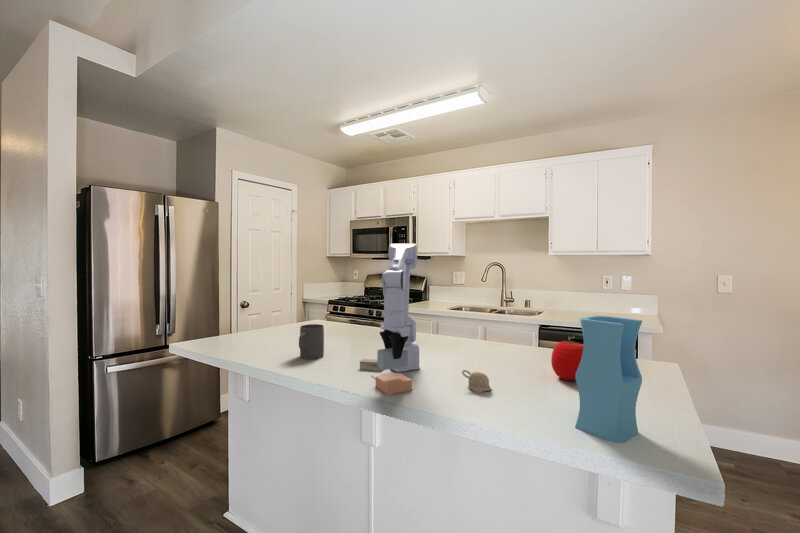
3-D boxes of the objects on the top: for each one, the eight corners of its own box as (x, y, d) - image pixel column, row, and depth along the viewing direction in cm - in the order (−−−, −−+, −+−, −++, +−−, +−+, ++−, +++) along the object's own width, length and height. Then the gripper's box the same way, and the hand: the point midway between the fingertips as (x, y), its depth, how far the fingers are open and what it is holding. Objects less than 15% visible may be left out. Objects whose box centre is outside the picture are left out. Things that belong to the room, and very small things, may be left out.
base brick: (399, 382, 118) (399, 372, 118) (411, 390, 111) (412, 379, 111) (375, 386, 114) (375, 376, 114) (387, 394, 107) (387, 384, 107)
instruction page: (392, 372, 128) (392, 371, 128) (401, 377, 123) (401, 376, 123) (371, 375, 124) (371, 374, 124) (379, 381, 119) (379, 380, 119)
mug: (307, 353, 155) (307, 323, 154) (328, 354, 152) (328, 324, 152) (288, 361, 142) (288, 329, 141) (310, 363, 139) (310, 330, 139)
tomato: (554, 371, 130) (554, 335, 130) (592, 377, 124) (592, 339, 124) (547, 381, 119) (548, 341, 119) (588, 388, 113) (589, 346, 113)
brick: (362, 366, 136) (362, 358, 136) (384, 367, 135) (384, 359, 135) (359, 370, 132) (359, 361, 132) (382, 371, 131) (382, 362, 131)
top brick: (401, 363, 116) (401, 346, 116) (407, 366, 112) (407, 349, 112) (377, 366, 112) (377, 349, 112) (383, 370, 109) (383, 352, 108)
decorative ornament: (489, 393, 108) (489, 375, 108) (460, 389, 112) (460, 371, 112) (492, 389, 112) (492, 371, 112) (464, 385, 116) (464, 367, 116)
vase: (620, 444, 79) (622, 324, 78) (574, 427, 87) (576, 318, 86) (641, 432, 84) (642, 320, 84) (596, 417, 92) (598, 314, 92)
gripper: (371, 308, 117) (371, 352, 117) (393, 315, 104) (392, 364, 104) (391, 307, 120) (391, 350, 120) (415, 313, 107) (414, 361, 107)
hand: (393, 356), depth 112 cm, fingers closed on top brick, 4 cm apart
